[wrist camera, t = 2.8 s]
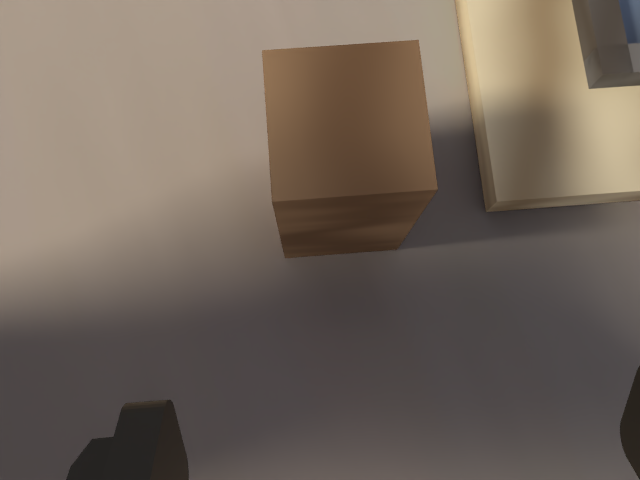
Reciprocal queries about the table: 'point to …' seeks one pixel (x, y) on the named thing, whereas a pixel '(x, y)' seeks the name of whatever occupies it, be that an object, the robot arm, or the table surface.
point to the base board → (554, 100)
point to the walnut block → (347, 146)
